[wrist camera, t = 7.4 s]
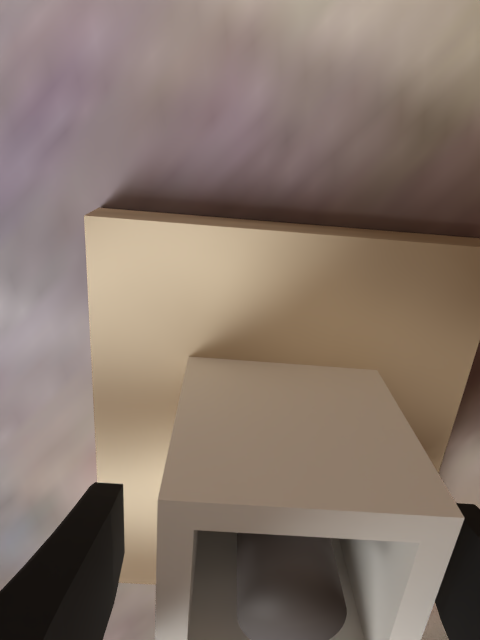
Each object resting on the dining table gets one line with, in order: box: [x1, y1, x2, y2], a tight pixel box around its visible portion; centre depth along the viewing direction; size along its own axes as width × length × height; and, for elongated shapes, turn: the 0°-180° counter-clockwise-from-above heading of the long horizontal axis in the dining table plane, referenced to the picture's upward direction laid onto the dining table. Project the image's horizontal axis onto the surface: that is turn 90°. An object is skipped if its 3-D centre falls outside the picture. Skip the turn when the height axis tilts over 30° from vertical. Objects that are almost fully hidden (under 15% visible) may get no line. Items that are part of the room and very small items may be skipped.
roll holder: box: [84, 208, 480, 640], centre depth 11 cm, size 12×10×6 cm
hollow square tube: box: [155, 356, 465, 640], centre depth 11 cm, size 5×5×5 cm
